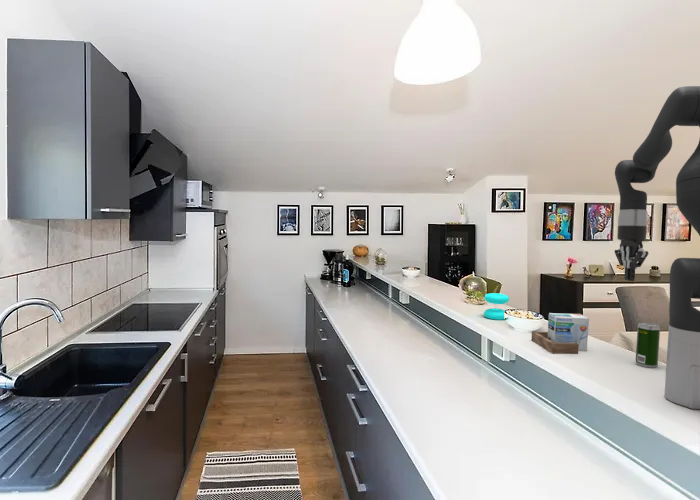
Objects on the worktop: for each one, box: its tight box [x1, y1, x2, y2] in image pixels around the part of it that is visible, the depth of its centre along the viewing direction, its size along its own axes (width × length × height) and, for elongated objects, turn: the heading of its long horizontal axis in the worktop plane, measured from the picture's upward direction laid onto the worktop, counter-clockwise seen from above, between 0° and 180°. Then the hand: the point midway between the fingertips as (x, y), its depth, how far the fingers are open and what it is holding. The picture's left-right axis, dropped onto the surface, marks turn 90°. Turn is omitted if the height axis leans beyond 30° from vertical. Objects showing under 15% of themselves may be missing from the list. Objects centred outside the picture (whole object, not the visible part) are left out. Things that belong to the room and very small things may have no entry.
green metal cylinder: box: [635, 322, 661, 369], centre depth 128 cm, size 5×5×12 cm
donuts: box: [483, 292, 510, 321], centre depth 189 cm, size 10×10×10 cm
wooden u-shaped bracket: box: [530, 331, 579, 355], centre depth 146 cm, size 15×8×3 cm, turn 1°
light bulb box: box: [547, 312, 590, 352], centre depth 145 cm, size 11×7×11 cm, turn 86°
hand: (629, 280), depth 138 cm, fingers closed
